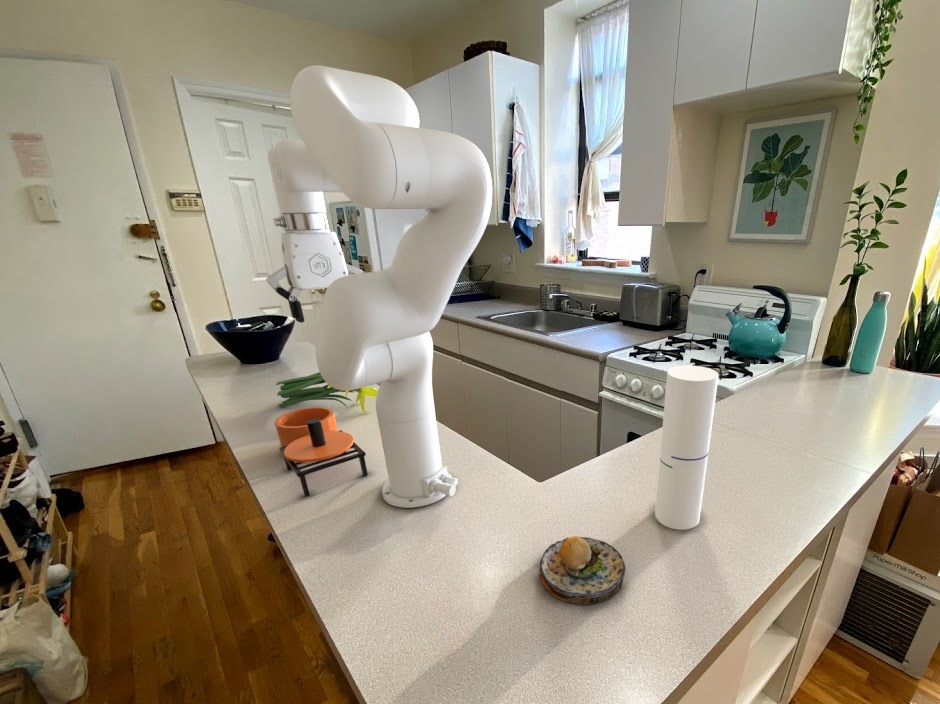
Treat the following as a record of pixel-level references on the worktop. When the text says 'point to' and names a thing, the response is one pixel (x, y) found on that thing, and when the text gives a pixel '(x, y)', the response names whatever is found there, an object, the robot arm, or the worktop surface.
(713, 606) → the worktop surface
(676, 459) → the cylindrical container
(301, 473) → the rack
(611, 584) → the burger
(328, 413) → the pot
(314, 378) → the daffodil flowers
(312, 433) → the lid
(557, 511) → the worktop surface
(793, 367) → the worktop surface
